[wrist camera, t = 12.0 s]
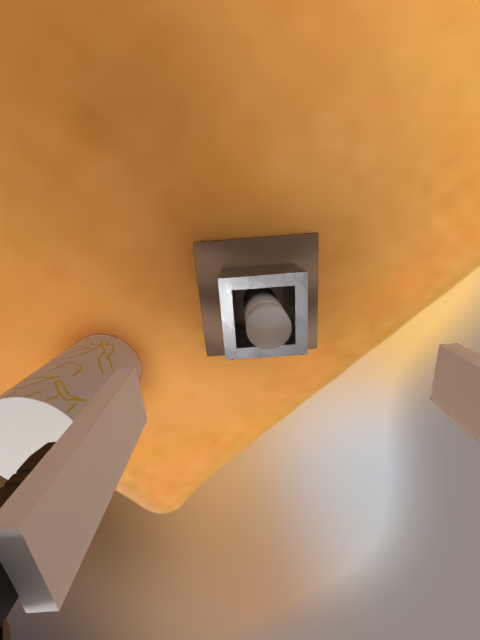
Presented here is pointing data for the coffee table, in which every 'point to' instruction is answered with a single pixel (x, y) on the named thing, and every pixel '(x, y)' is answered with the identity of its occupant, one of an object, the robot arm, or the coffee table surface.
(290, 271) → the collar
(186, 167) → the coffee table surface
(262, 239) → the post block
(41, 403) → the gold-veined taupe cylinder
